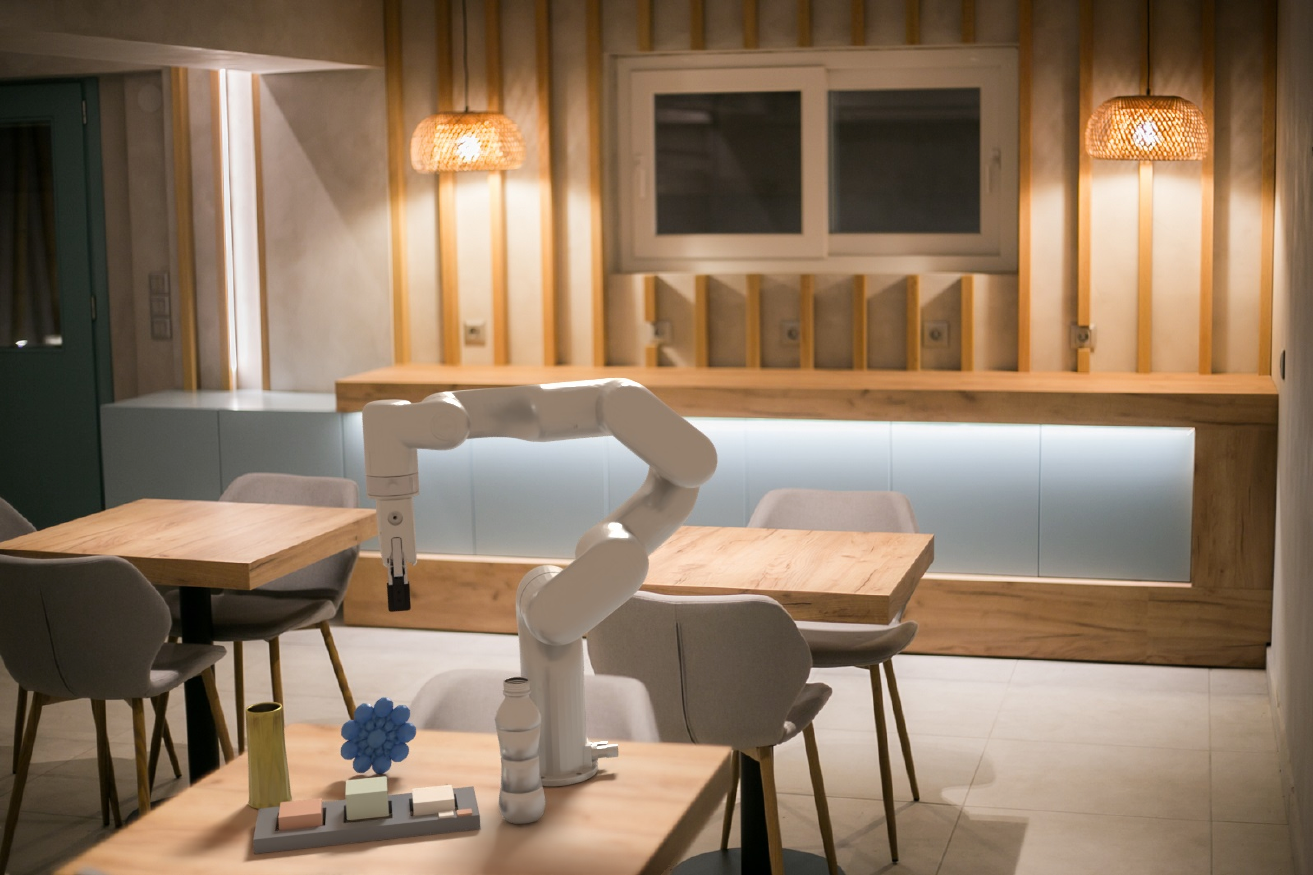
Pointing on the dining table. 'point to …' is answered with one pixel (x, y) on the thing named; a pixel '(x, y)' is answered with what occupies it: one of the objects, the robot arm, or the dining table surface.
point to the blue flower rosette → (377, 736)
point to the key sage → (366, 798)
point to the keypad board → (366, 824)
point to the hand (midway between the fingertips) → (399, 609)
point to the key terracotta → (300, 814)
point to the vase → (267, 756)
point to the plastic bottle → (519, 754)
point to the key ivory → (433, 800)
